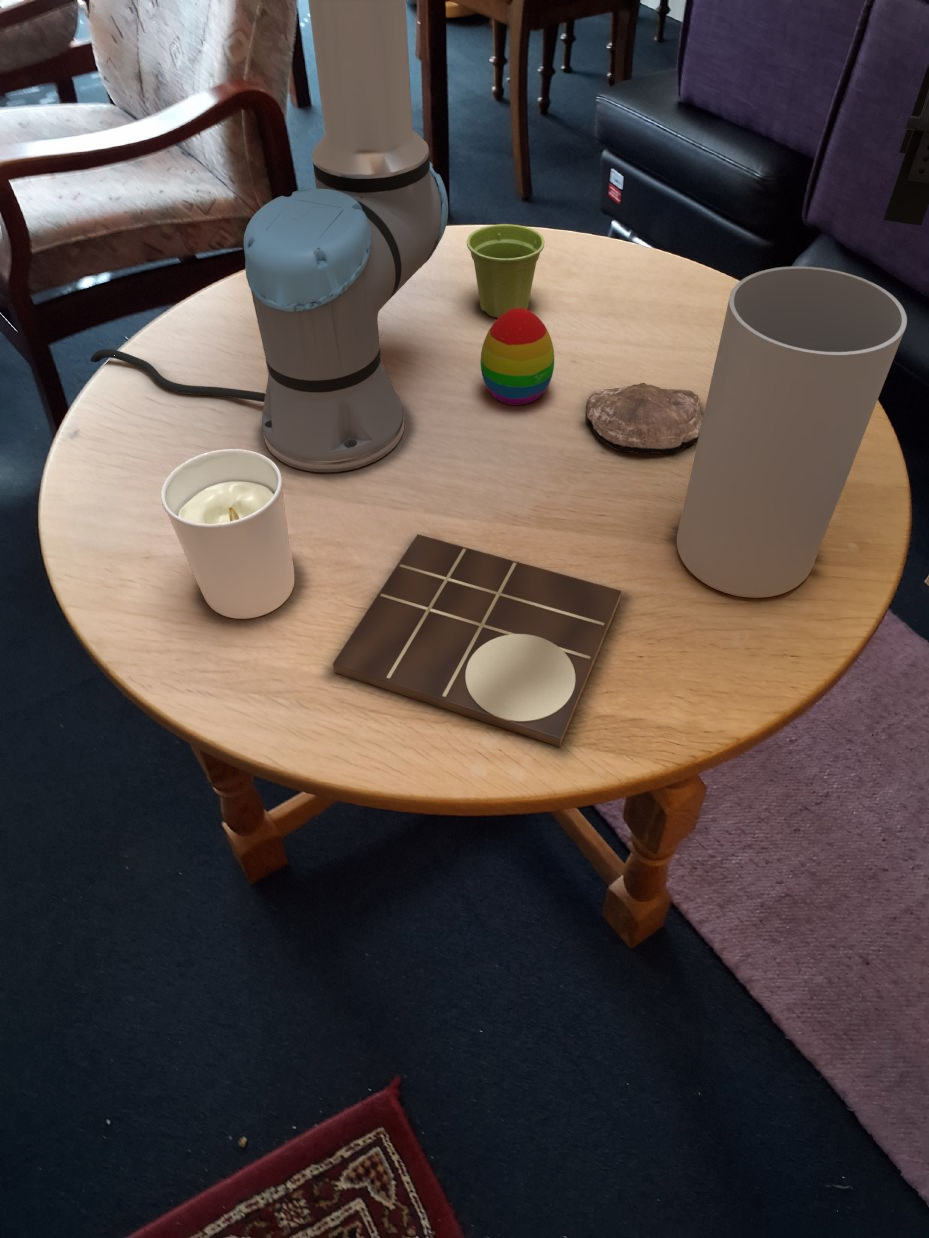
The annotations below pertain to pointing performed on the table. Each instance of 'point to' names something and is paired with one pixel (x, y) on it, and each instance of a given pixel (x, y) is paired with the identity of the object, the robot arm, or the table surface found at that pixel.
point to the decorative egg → (517, 357)
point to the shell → (645, 418)
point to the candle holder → (233, 530)
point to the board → (482, 637)
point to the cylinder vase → (783, 424)
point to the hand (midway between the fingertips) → (909, 185)
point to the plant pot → (504, 265)
